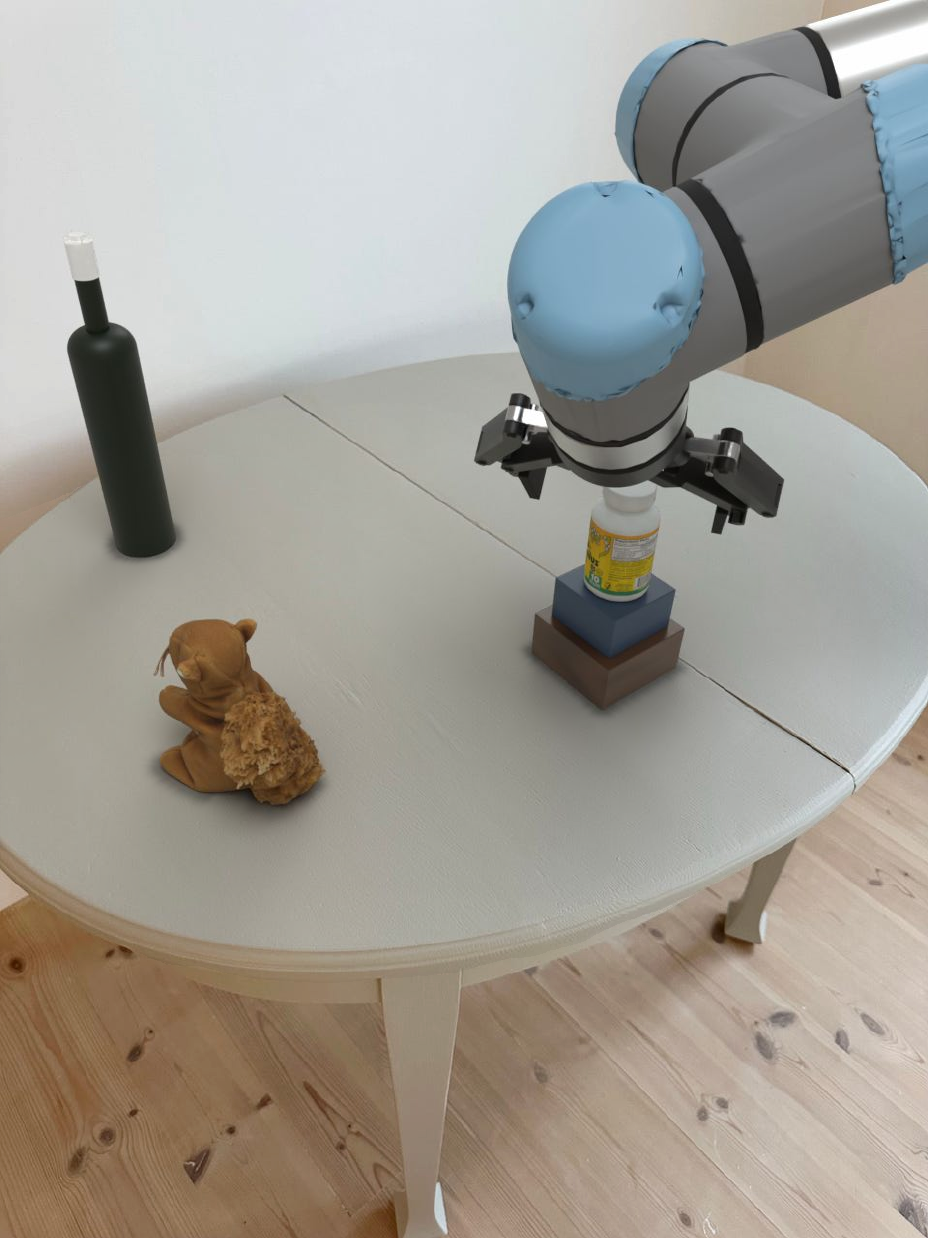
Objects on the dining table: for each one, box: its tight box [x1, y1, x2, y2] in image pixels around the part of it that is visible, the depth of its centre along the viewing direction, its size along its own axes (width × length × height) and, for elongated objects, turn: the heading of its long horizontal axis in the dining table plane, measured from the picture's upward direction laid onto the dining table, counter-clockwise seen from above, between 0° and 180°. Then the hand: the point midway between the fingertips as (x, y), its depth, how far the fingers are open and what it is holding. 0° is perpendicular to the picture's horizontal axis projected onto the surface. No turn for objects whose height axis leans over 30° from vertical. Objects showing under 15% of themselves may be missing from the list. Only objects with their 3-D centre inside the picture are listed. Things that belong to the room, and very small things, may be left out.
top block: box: [552, 563, 677, 659], centre depth 80 cm, size 7×7×4 cm
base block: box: [531, 604, 686, 711], centre depth 82 cm, size 9×9×4 cm
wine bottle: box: [63, 230, 177, 559], centre depth 86 cm, size 6×6×30 cm
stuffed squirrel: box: [153, 618, 327, 806], centre depth 69 cm, size 10×14×13 cm
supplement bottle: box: [584, 480, 662, 602], centre depth 75 cm, size 5×5×10 cm
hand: (627, 498), depth 71 cm, fingers open, 13 cm apart
